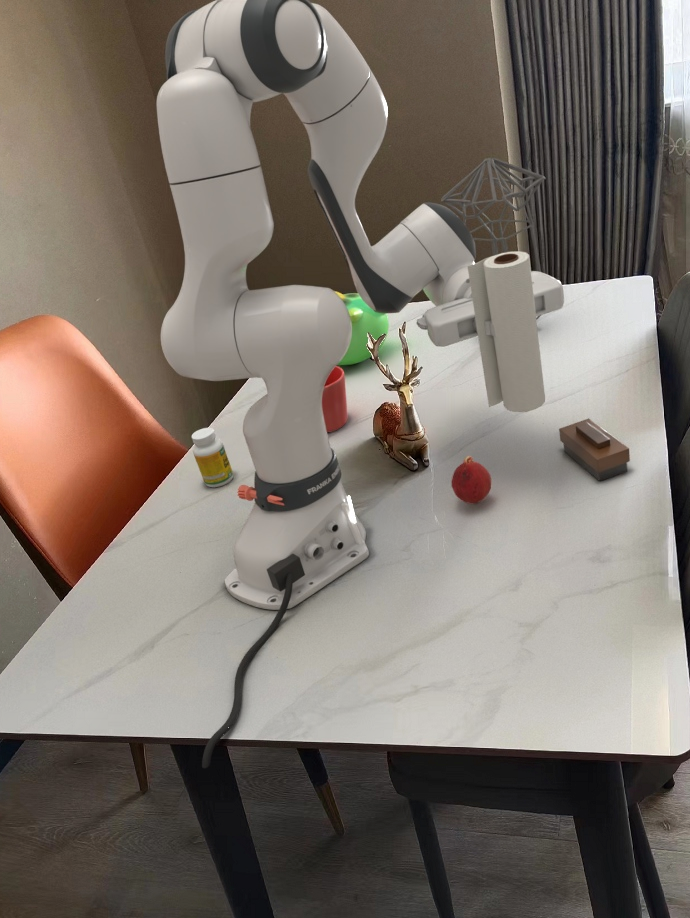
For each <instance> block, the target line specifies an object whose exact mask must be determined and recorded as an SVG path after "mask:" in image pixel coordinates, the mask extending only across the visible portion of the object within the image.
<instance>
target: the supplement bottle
mask: <svg viewBox="0 0 690 918" xmlns="http://www.w3.org/2000/svg"><path fill="white" fill-rule="evenodd" d="M191 440H192V443H193V447H192V453H193V456H194V459H195V462H196V465H197V467H198V469H199V472H200V476H201V477H202V481H203V483H204V484H205V486H206V487H208V488H219V487H222V486H225V485H227V484H229V483H230V482H231V481H232V479H234V472H233V469H232V466H231V463H230V460H229V458H228V455H227V451H226V448H225V445H224V443H223V441H222V440H221V439H220V438H218V437H217V435H216V432H215V430H214V428H213V427H203V428H201V429H198V430H196V431H194V432H193V433H192V434H191Z"/></svg>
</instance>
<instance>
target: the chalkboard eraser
mask: <svg viewBox="0 0 690 918" xmlns="http://www.w3.org/2000/svg"><path fill="white" fill-rule="evenodd" d="M558 431H559V441H560V442H561V443H562V444H563V451H564V452H565V453H566V454H567V455H569V457H571V458H572V459H573V460H574V461H575V462H577V463H578V464H579V465H580V466H581V467H582V468H583V469H585V470H586V471H587V472H588V473H589V474H591V475H592V476H593V477H594V478H595V479H597V481H599V482H601V481H604V480H607V479H610V478H613V477H616V476H618V475H621V474H624V473H626V472H628V463H629V462H631V459H630V448H629V447H628V446H626V445H625V444H624V443H622V442H621V441H620V440H618V439H617V438H616V437H615V436H613V435H612V434H611V433H609V432H608V431H606V430H605V429H604V428H603V427H602V426H600V425H599V424H597V423H596V422H595V421H593V420H591V418H586V419H583V420H581V421H577V422H574V423H572V424H568V425H566V426H563V427H559V428H558Z"/></svg>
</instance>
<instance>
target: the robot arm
mask: <svg viewBox="0 0 690 918" xmlns="http://www.w3.org/2000/svg"><path fill="white" fill-rule="evenodd" d="M164 58H165V59H164V60H165V68H166V81H165V82H164V83H163V84H162V85H161V86H160V89H159V90H158V93H157V96H156V116H157V125H158V134H159V141H160V147H161V153H162V158H163V162H164V168H165V172H166V176H167V179H168V183H169V188H170V190H171V195H172V199H173V203H174V207H175V210H176V214H177V220H178V224H179V228H180V232H181V233H180V234H181V237H182V243H183V250H184V273H183V280H182V284H181V287H180V290H179V293H178V296H177V298H176V299H175V301H174V303H173V304H172V305H171V307H170V308H169V309H168V311H167V313H166V314H165V316H164V318H163V321H162V324H161V328H160V345H161V349H162V352H163V355H164V357H165V359H166V361H167V363H168V365H169V366H170V367H171V369H173V371H174V372H175V373H176V374H178V375H179V376H181V377H184V378H188V379H195V380H201V381H210V382H223V381H233V380H234V381H235V380H244V379H254V378H255V379H256V378H257V379H262V380H263V382H264V385H265V387H266V392H267V393H266V394H264V395H263V396H262V397H261V398H259V399H258V400H257V401H255V402H254V403H253V404H252V405H251V406H250V407H249V409H248V410H247V412H245V413H246V414H245V416H244V419H243V424H242V434H243V437H244V440H245V443H246V446H247V448H248V452H249V453H250V454H249V455H250V457H251V460H252V464H253V467H254V470H255V471H254V484H253V485H254V486H248V485H247V484H241V485H239V486H238V488H237V492H236V493H237V496H238V498H239V499H241V500H246V501H248V502H252V501H253V500H254V504H253V506H252V508H251V509H250V513H249V514H248V516H247V518H246V520H245V522H244V524H243V527H242V528H241V530H240V532H239V534H238V536H237V538H236V540H235V542H234V544H233V549H232V550H233V553H232V554H233V559H234V565H235V567H234V568H233V569H232V570H231V572H229V574H228V575H227V576H226V577H225V579H224V585H225V588H226V591H227V592H228V593H229V594H230V595H231V596H232V597H233V598H234V599H236V600H238V601H240V602H242V603H244V604H247V605H249V606H252V607H254V608H255V607H256V608H259V609H264V610H272V611H277V613H276V615H275V617H274V619H273V620H272V622H271V624H270V625H269V627H267V629H266V630H265V632H264V633H263V634H262V635H261V636H260V637H259V638H258V640H256V642H255V643H253V645H252V646H251V647H250V648H249V649H248V650H247V651H246V652H245V654H244V656H243V657H242V659H241V661H240V663H239V664H238V666H237V669H236V673H235V677H234V687H233V688H234V689H233V701H232V702H233V703H232V707H231V711H230V714H229V715H228V718H227V719H226V721H225V722H224V724H223V725H221V727H219V728H218V730H216V731H215V732H214V733H213V735H211V737H210V739H209V740H208V742H207V743H206V745H205V747H204V751H203V754H202V760H201V767H202V769H207V768H208V767H209V766H210V764H211V760H212V754H213V753H214V749H215V747H216V745H217V744H218V742H219V741H220V740H221V739H222V738H223V737H224V736H225V735H226V734H227V733H228V732H229V731H230V730H231V728H232V727H233V726H234V725H235V724H236V721H237V719H238V717H239V713H240V710H241V705H242V690H243V689H242V688H243V687H242V686H243V678H244V674H245V671H246V669H247V666H248V664H249V663H250V661H251V660H252V658H253V657H254V656H255V654H256V653H257V652H258V651H259V650H260V649H261V648H262V646H263V645H265V643H266V642H267V641H268V639H269V638H270V637H272V635H273V634H274V633H275V632H276V630H277V628H278V627H279V625H280V623H281V622H282V621H283V618H284V616H285V614H286V612H287V610H289V609H293V608H294V607H296V606H297V605H298V604H299V605H300V603H302V602H303V601H305V600H306V599H308V598H309V597H311V596H312V595H314V594H315V593H316V592H319V590H322V589H323V588H324V587H326V586H327V585H329V584H330V583H332V582H333V581H334V580H336V579H338V578H340V576H342V575H344V574H345V573H347V572H348V571H350V570H351V569H352V568H354V567H356V566H357V565H359V564H360V563H361V562H363V561H365V560H367V558H368V557H369V556H370V552H369V549H368V546H367V544H366V538H367V531H366V528H365V526H364V525H363V523H362V522H361V521H360V519H359V517H358V516H357V514H356V512H355V510H354V506H353V503H352V499H351V496H350V495H347V493H346V490H345V487H344V485H343V482H342V470H341V466H340V463H339V459H338V456H337V454H336V451H335V449H333V447H331V443H330V439H329V435H328V432H327V430H326V426H325V421H324V416H323V410H322V395H323V389H324V385H325V383H326V380H327V378H328V376H329V374H330V373H331V371H332V370H333V369H334V368H335V366H338V365H337V364H338V363H339V362H340V361H341V360H342V359H343V357H344V356H345V354H346V352H347V350H348V348H349V345H350V341H351V336H352V323H351V318H350V314H349V312H348V309H347V307H346V305H345V303H344V302H343V301H342V299H341V298H340V297H339V296H338V294H336V293H335V292H336V291H335V290H333V289H331V287H324V286H316V285H307V284H306V285H304V284H289V285H282V286H274V287H266V288H258V289H249V287H248V282H247V268H248V264H249V263H251V262H252V261H253V260H254V259H256V258H257V257H258V256H259V255H260V254H261V253H262V252H264V250H265V249H266V248H267V247H268V246H269V244H270V242H271V240H272V238H273V234H274V228H275V221H274V218H273V214H272V210H271V205H270V204H271V203H270V199H269V196H268V195H269V194H268V191H267V186H266V183H265V178H264V173H263V168H262V165H261V160H260V157H259V153H258V148H257V144H256V142H255V141H256V140H255V138H254V135H253V131H252V128H251V115H252V108H253V104H254V103H258V102H262V101H267V100H268V99H271V98H275V97H277V96H280V95H282V94H283V95H284V96H285V97H286V99H287V100H288V102H289V104H290V106H291V107H292V110H293V111H294V112H295V114H296V115H297V117H298V119H299V120H300V121H301V123H302V125H303V126H304V128H305V130H306V133H307V136H308V139H309V144H310V153H311V154H310V156H311V158H310V161H309V163H308V166H307V174H308V179H309V182H310V185H311V188H312V190H313V193H314V196H315V198H316V200H317V202H318V204H319V206H320V209H321V211H322V213H323V215H324V218H325V221H326V222H327V224H328V226H329V228H330V231H331V232H332V235H333V236H334V239H335V241H336V243H337V246H338V247H339V249H340V252H341V254H342V256H343V259H344V260H345V263H346V265H347V268H348V271H349V274H350V276H351V278H352V282H353V285H354V286H355V290H356V292H357V293H358V294H359V295H360V297H361V298H362V300H363V301H364V302H365V303H366V304H367V305H368V306H369V307H370V308H371V309H373V310H374V311H375V312H377V313H387V314H398V313H400V312H402V310H403V309H404V308H405V307H406V306H407V305H408V304H409V303H410V302H411V301H412V300H413V299H414V297H415V296H416V295H418V294H419V293H420V292H421V291H423V292H424V294H425V295H426V297H427V298H428V299H429V300H430V302H431V303H432V304H433V305H434V306H433V307H430V308H429V309H426V311H424V314H423V315H422V317H420V318H417V319H416V325H417V327H418V328H419V329H421V330H424V331H426V333H427V335H428V338H429V340H430V341H431V343H432V344H433V345H434V346H435V347H441V348H442V347H449V346H451V345H454V344H456V343H460V342H464V341H466V340H469V339H472V338H473V339H474V338H476V337H478V332H477V326H476V319H475V313H474V306H473V300H472V293H471V287H470V280H469V274H468V267H467V266H469V265H472V264H475V263H476V262H475V260H476V258H477V251H476V249H477V248H476V242H475V240H474V239H473V238H474V237H473V235H472V233H470V231H471V230H470V229H469V228H468V227H467V224H466V225H465V224H464V223H463V219H461V218H460V217H459V216H458V214H456V213H455V212H454V211H452V210H451V209H450V208H448V207H447V206H445V205H443V204H440V203H435V202H430V201H429V202H422V203H421V205H419V206H418V207H416V209H414V210H413V211H412V212H411V213H410V214H408V215H407V216H406V217H405V218H404V219H402V220H401V221H400V222H399V224H397V225H396V226H395V227H394V228H393V229H392V230H391V231H389V232H388V233H387V234H386V235H385V236H383V237H382V238H381V239H380V240H379V241H378V242H376V243H375V244H373V245H371V243H370V240H369V238H368V236H367V234H366V232H365V230H364V227H363V225H362V223H361V220H360V218H359V215H358V213H357V210H356V196H357V194H358V193H357V192H358V189H359V188H360V187H359V186H360V184H361V182H362V179H363V178H364V176H365V173H366V172H367V170H368V168H369V166H370V165H371V163H372V161H373V159H374V158H375V156H376V155H377V153H378V152H379V150H380V148H381V145H382V143H383V140H384V138H385V134H386V131H387V127H388V118H389V116H388V115H389V113H388V112H389V111H388V104H387V100H386V98H385V96H384V93H383V90H382V88H381V86H380V84H379V82H378V80H377V78H376V77H375V74H374V72H373V71H372V70H371V68H370V66H369V64H368V63H367V61H366V59H365V58H364V56H363V55H362V53H361V52H360V50H359V49H358V47H357V46H356V44H355V43H354V42H353V40H352V39H351V37H350V36H349V35H348V32H346V31H345V30H344V28H343V27H342V26H341V24H340V23H339V21H337V19H335V17H334V16H333V15H332V14H331V13H330V11H328V10H327V9H326V8H325V7H323V6H322V5H320V4H318V3H314V2H311V1H310V0H213V1H211V2H209V3H207V4H205V5H204V6H202V7H200V8H197V9H193V10H191V11H188V12H187V13H185V14H184V15H183V16H182V17H181V18H179V20H177V21H176V22H175V23H174V25H173V26H172V27H171V28H170V31H169V32H168V35H167V38H166V42H165V53H164ZM531 275H532V284H533V293H534V302H535V311H536V318H537V317H538V316H540V315H541V316H543V315H546V314H550V313H552V312H556V311H559V310H561V309H563V307H564V305H565V293H564V287H563V283H562V282H561V281H560V280H559V279H557V278H555V277H554V276H551V275H549V274H547V273H544V272H542V271H541V272H538V271H537V270H531ZM334 291H335V292H334ZM541 316H540V317H541ZM484 325H485V332H486V335H492V336H494V337H495V338H496V336H495V329H494V325H493V324H492V321H490V320H487V321H485V322H484ZM228 727H229V728H228ZM223 734H224V735H223ZM214 744H216V745H214Z"/></svg>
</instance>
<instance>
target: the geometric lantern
mask: <svg viewBox="0 0 690 918" xmlns="http://www.w3.org/2000/svg"><path fill="white" fill-rule="evenodd" d="M486 166H487V177H485V178H484V174H485V168H486ZM508 169H510V170H512V171H515V172H518V173H521V174H524V175H527V176H529V177H524V178H520V176H518V175H516V174H514V173H513V172H512V171H510V170H508ZM493 171H494V173H495V175H496V177H494V175H493ZM503 177H504V178H503ZM469 179H470V180H469ZM515 179H516V180H517V181H516V180H515ZM467 180H469V181H468V183H467V184H466V185H465V187H464V188H463V190H462V191H461V192H458V193H454V192H455V191H457V189H459V188H460V187H461V186H462V185H463V184H464V183H465V182H466V181H467ZM487 180H489V185H490V190H491V197H492V198H491V199H485V200H481V201H477V200H478V197H479V194H480V192H481V188H482V185H483V182H484V181H487ZM533 180H534V181H533ZM544 180H546V177H545V176H544V175H541V174H539V173H537V172H534V171H531V170H528V169H525V168H524V167H520V166H518V165H515V164H513V163H510V162H507V161H505V160H502V159H499V158H496V157H492V158H491V157H488V158H484V160H483V161H482V162H481V163H480V164H479V165H477V166H476V167H475V168H474V169H473V170H472V171H471V172H469V173H468V174H467V175H466V176H465V177H463V178H462V179H461V180H460V181H459V182H458V183H457V184H455V186H453V187H451V189H450V190H448V191H447V192H446V193H445V194H444V195H443V196H442V197H441V199H440V201H441V202H440V203H444V204H445V205H447V206H448V207H449V208H451V209H452V210H453V211H455V212H456V213H457V214H459V215H460V216H462V221H463V223H464V224H465V225H466V226H467V224H466V223H467V220H471V219H477V220H478V221H479V222H480V224H481V225H480V226H477V227H476V228H473V229H472V230H469V231H470V233H471V234H472V233H474V232H476V231H478V230H480V229H482V228H483V227H484V229H485V230H486V231H487V232H488V234H489V235H490V238H479V237H473V239H474V241H482V242H491V243H490V244H491V253H492V255H491V256H494V255H498V254H499V248H498V242H500V246H501V253H506V252H509V249H508V243H507V240H508V239H511V238H513V237H514V236H516V235H518V234H521V233H522V232H524V231H526V230H528V229H529V230H530V236H531V241H532V245H533V251H534V257H535V264H536V271H538V272H542V269H541V264H540V258H539V253H538V247H537V240H536V239H537V238H536V234H535V233H536V232H535V226H534V225H535V224H534V220H533V217H532V212H531V208H530V205H529V201H531V198H532V197H533V195H534V194H535V193H536V191H537V190H538V189H539V187H540V185H541V184H542V182H543V181H544ZM527 181H532V183H531V184H529V186H527V187H526V182H527ZM502 184H503V185H502ZM508 184H510V186H512V188H510V186H509V185H508ZM495 186H497V187H498V188H500V190H501V193H502V197H501V199H498V198H497V192H496V187H495ZM515 187H517V188H518V189H519V191H516V192H515ZM531 189H532V190H531ZM530 190H531V191H530ZM529 191H530V193H529V194H528V192H529ZM453 193H454V194H453ZM470 193H471V200H468V199H467V198H468V196H469V195H470ZM505 193H506V194H505ZM457 197H461V199H460V198H459V199H458V198H457ZM524 197H525V200H524V202H523V200H522V198H524ZM456 198H457V199H456ZM512 198H514V199H515V200H514V201H515V204H516V206H515V205H514V204H513V203H512V202H511V199H512ZM500 202H504V203H505V205H504V207H503V209H502V211H501V214H500V216H499V218H498V219H495V220H491V219H490V218H489V217H488V216H487V215H486V214H485V213H484V212H485V211H487V210H488V209H489V208H490V207H491V206H493V204H495V203H500ZM519 202H520V205H519ZM485 204H486V205H485ZM454 205H455V206H454ZM479 205H485V206H484V207H483V208H481V209H480V208H479V207H478V206H479ZM456 206H457V207H461V210H460V209H458V208H457V207H456ZM508 206H509V207H510V208H511V209H512V210H511V211H510V214H509V217H508V219H503V217H504V216H505V212H506V210H507V209H508ZM469 207H470V208H471V209H472V213H473V214H471V215H467V214H466V212H467V210H466V208H469ZM525 207H526V208H525ZM475 208H476V209H477V210H478V213H476V210H475ZM521 209H522V210H523V212H524V215H525V218H526V219H511V218H512V216H513V214H514V212H520V210H521ZM481 215H482V216H483V217H484V218H485V219H486V220H487V222H484V221H483V219H482V217H480V216H481ZM502 222H503V223H506V224H505V226H504V228H502ZM509 223H528V224H529V225H527V226H525V227H524V228H522V229H520V230H518V231H516V232H514V233H512V234H510V235H508V236H507V237H504V234H505V232H506V230H507V227H508V225H509ZM493 224H498V229H499V237H496V236H495V234H494V225H493ZM488 225H489V227H488ZM540 317H542V315H540V316H537V317H536V320H538V319H540Z"/></svg>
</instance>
